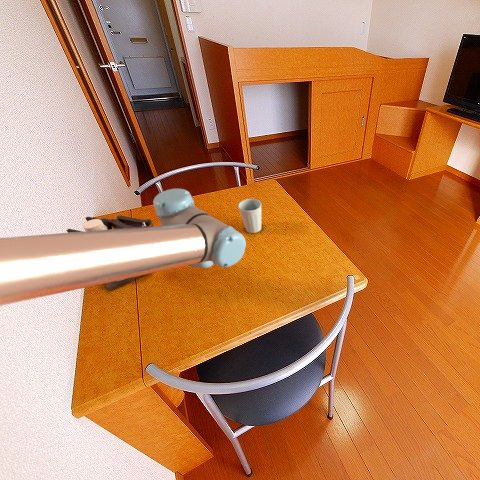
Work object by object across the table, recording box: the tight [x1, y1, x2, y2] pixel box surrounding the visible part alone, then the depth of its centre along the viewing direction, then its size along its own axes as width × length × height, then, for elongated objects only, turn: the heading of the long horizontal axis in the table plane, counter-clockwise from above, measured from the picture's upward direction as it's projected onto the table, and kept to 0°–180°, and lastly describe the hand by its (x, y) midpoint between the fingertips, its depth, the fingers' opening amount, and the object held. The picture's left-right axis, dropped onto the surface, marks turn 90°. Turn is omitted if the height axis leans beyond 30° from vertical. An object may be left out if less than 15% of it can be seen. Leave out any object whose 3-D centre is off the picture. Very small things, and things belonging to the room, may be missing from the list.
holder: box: [105, 275, 144, 291], centre depth 82 cm, size 10×10×4 cm
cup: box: [237, 198, 262, 234], centre depth 97 cm, size 8×8×10 cm
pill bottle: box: [82, 218, 109, 231], centre depth 73 cm, size 5×5×8 cm
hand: (80, 227), depth 72 cm, fingers closed on pill bottle, 5 cm apart
